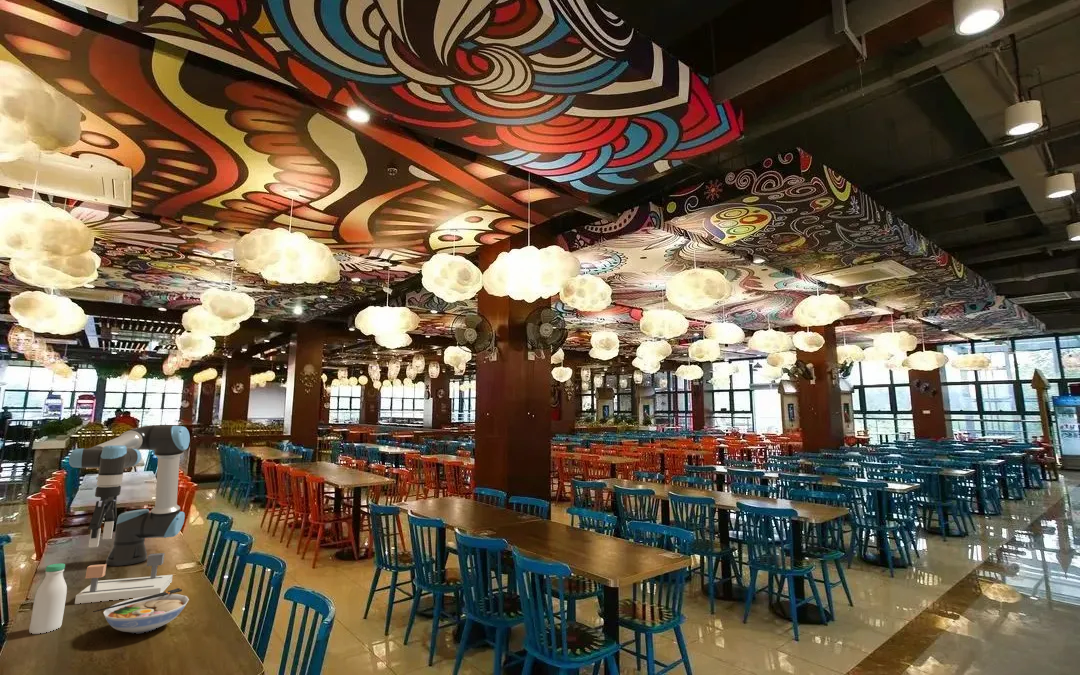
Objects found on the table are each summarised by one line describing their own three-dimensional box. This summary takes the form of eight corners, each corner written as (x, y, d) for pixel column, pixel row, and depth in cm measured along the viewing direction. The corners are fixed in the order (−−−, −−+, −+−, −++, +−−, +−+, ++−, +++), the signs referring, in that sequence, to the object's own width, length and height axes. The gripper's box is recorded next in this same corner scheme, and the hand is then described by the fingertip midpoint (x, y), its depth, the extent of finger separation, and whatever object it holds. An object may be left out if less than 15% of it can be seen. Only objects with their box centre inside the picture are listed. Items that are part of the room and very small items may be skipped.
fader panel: (94, 588, 204) (95, 580, 204) (171, 582, 214) (172, 574, 215) (74, 604, 188) (76, 595, 188) (159, 596, 198) (160, 587, 198)
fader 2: (147, 576, 210) (150, 554, 211) (161, 575, 212) (164, 553, 213) (144, 579, 207) (147, 555, 209) (159, 577, 209) (162, 554, 211)
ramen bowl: (111, 652, 151) (116, 622, 152) (82, 633, 163) (87, 606, 164) (202, 625, 172) (205, 599, 173) (171, 610, 184) (174, 586, 185)
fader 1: (86, 590, 193) (90, 565, 194) (102, 588, 195) (106, 564, 196) (83, 592, 190) (87, 567, 192) (99, 591, 192) (103, 566, 193)
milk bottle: (67, 627, 168) (77, 563, 171) (37, 636, 160) (49, 569, 164) (52, 623, 170) (62, 560, 173) (22, 632, 163) (34, 566, 166)
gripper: (108, 482, 208) (100, 536, 205) (83, 490, 186) (73, 551, 182) (131, 481, 211) (123, 535, 208) (109, 489, 189) (100, 549, 185)
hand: (100, 542), depth 195 cm, fingers open, 13 cm apart
